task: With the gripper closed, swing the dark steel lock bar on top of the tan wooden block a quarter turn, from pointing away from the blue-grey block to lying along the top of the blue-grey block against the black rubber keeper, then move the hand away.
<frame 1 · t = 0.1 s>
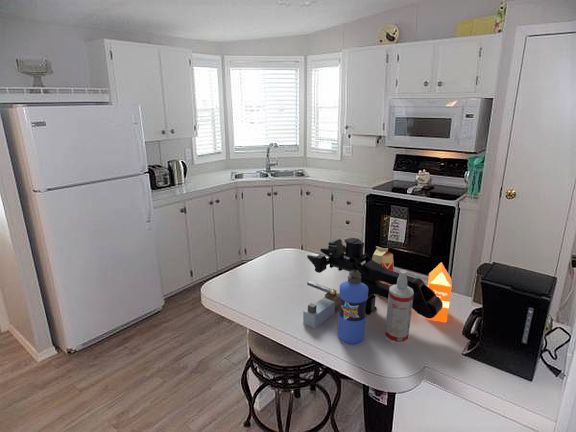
hand: (314, 253, 157), 17 cm above the worktop, tool horizontal, fingers open, 9 cm apart
lock bar: (321, 288, 147), point 7 cm above the worktop, hinge at 0.0°
blue bottle: (350, 337, 129), on the worktop
spray bottle: (396, 337, 129), on the worktop
tan wooden block: (332, 308, 146), on the worktop
orange juice: (435, 315, 143), on the worktop
blue-grey block: (319, 318, 140), on the worktop
milk carton: (380, 290, 161), on the worktop
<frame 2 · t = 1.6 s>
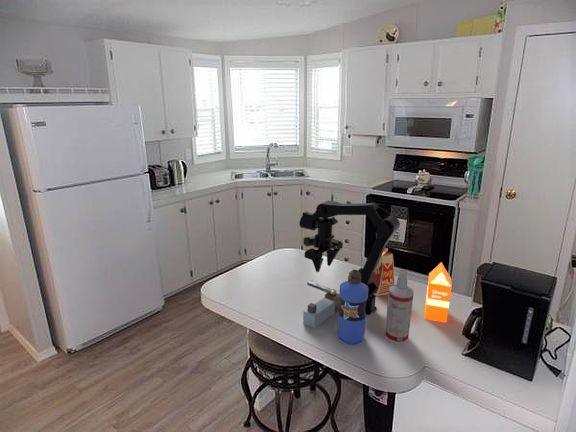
hand: (323, 268, 152), 12 cm above the worktop, tool pointing down, fingers open, 8 cm apart
nothing on the worktop moved.
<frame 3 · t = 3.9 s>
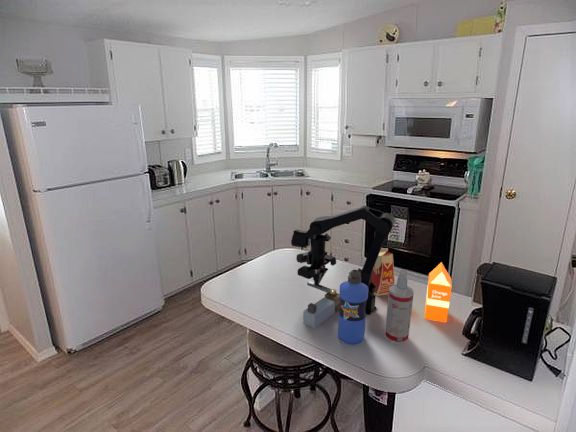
hand: (316, 285, 151), 6 cm above the worktop, tool pointing down, fingers closed
lock bar: (321, 288, 147), point 7 cm above the worktop, hinge at 0.2°, touching gripper
everything else where it was.
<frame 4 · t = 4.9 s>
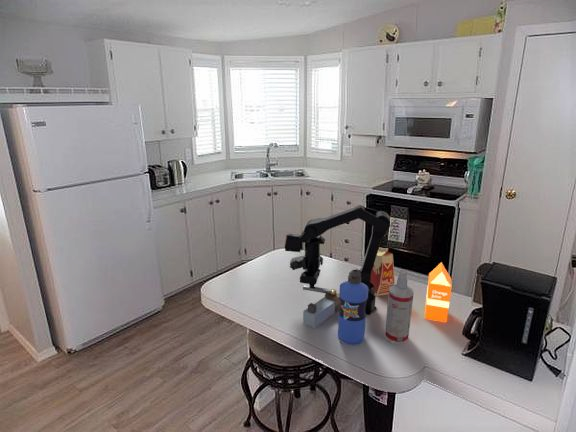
hand: (311, 288, 149), 6 cm above the worktop, tool pointing down, fingers closed
lock bar: (319, 290, 146), point 7 cm above the worktop, hinge at 20.2°, touching gripper
everything else where it was.
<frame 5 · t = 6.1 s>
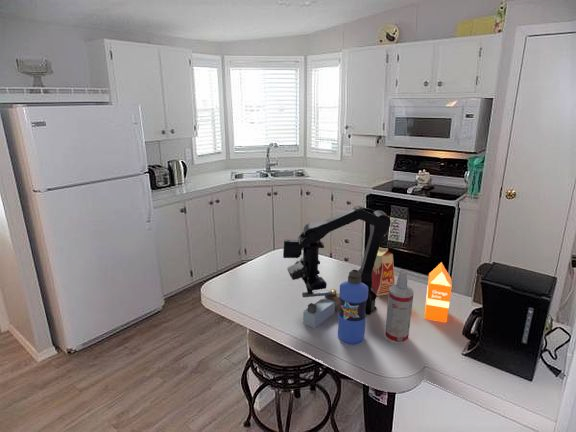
hand: (309, 293, 144), 6 cm above the worktop, tool pointing down, fingers closed
lock bar: (319, 293, 143), point 7 cm above the worktop, hinge at 50.2°, touching gripper
everything else where it was.
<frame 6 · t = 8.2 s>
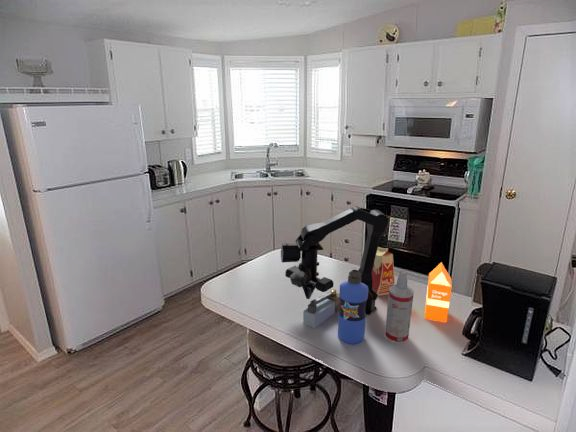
hand: (308, 298, 141), 6 cm above the worktop, tool pointing down, fingers closed
lock bar: (323, 297, 141), point 7 cm above the worktop, hinge at 84.0°
everything else where it was.
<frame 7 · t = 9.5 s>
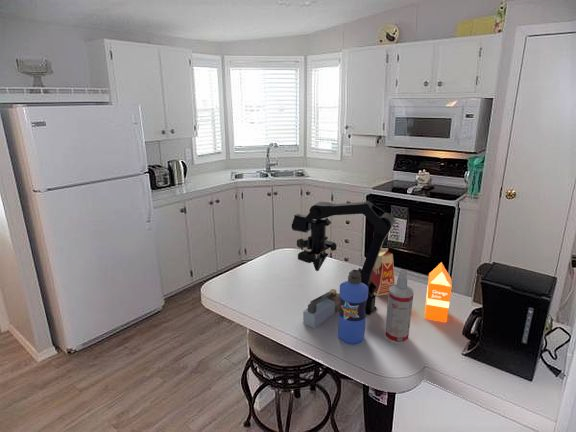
hand: (317, 270, 151), 12 cm above the worktop, tool pointing down, fingers closed
nothing on the worktop moved.
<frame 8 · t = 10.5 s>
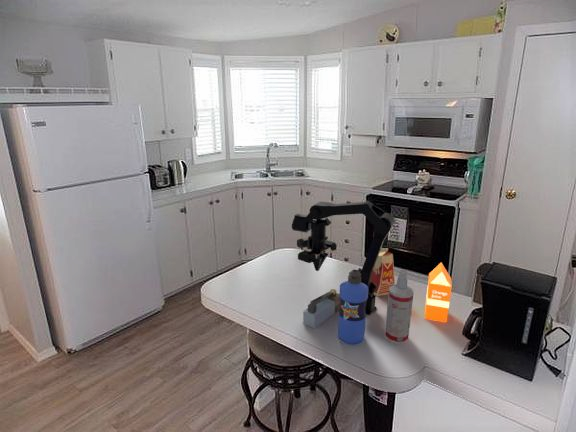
hand: (317, 270, 151), 12 cm above the worktop, tool pointing down, fingers closed
nothing on the worktop moved.
at the end: lock bar at +84° (first picture: +0°); the gripper is holding nothing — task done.
